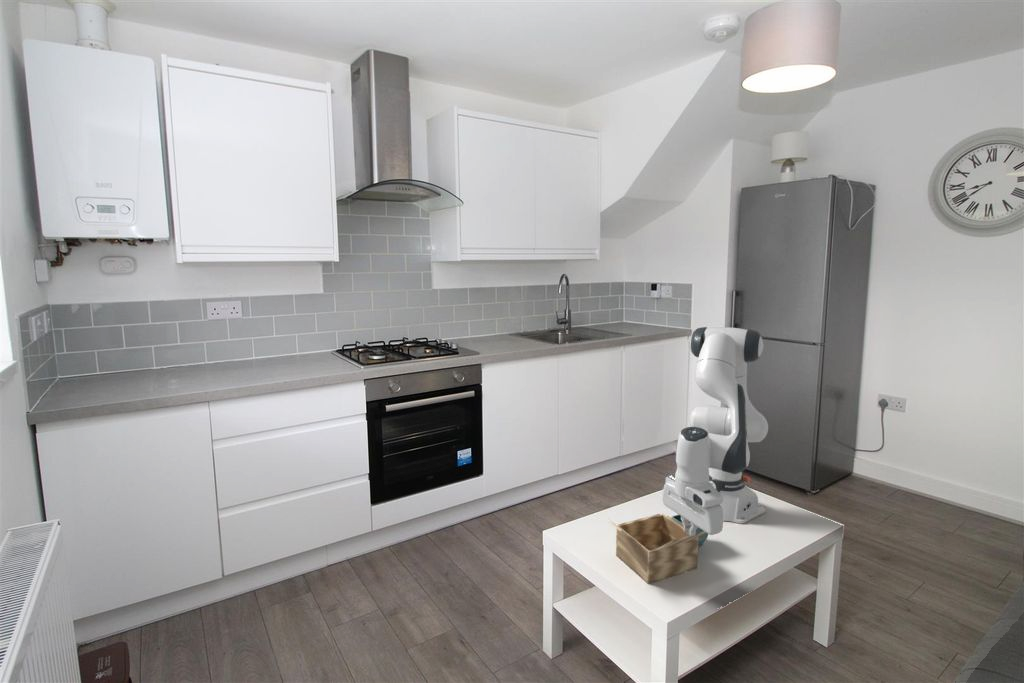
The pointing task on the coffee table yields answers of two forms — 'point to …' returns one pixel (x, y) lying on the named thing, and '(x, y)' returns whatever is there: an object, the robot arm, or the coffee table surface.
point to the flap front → (622, 531)
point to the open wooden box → (651, 537)
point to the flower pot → (698, 530)
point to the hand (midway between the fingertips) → (689, 533)
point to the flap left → (681, 540)
